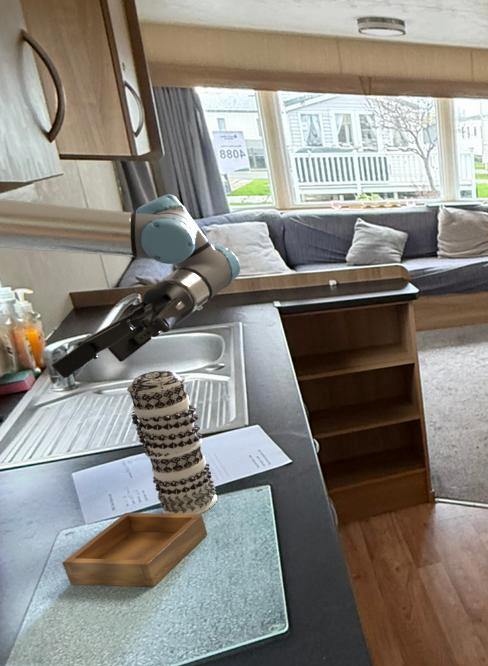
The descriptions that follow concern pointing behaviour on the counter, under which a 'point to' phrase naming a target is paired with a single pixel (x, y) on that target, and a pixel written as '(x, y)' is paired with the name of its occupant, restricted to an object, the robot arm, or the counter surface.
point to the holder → (136, 550)
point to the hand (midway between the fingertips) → (86, 363)
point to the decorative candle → (172, 443)
